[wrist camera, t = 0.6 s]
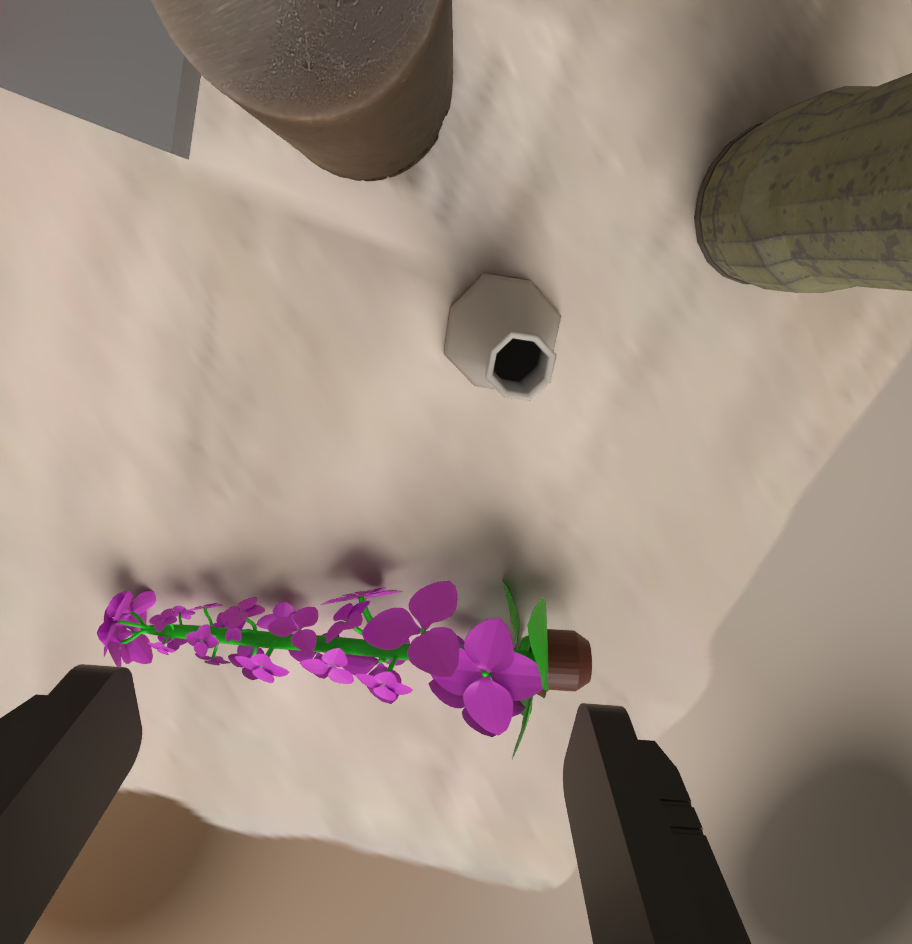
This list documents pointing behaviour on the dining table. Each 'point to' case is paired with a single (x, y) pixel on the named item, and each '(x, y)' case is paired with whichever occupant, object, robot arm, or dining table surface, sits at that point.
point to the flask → (503, 336)
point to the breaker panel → (101, 66)
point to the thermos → (816, 195)
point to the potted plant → (375, 649)
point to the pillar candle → (328, 73)
